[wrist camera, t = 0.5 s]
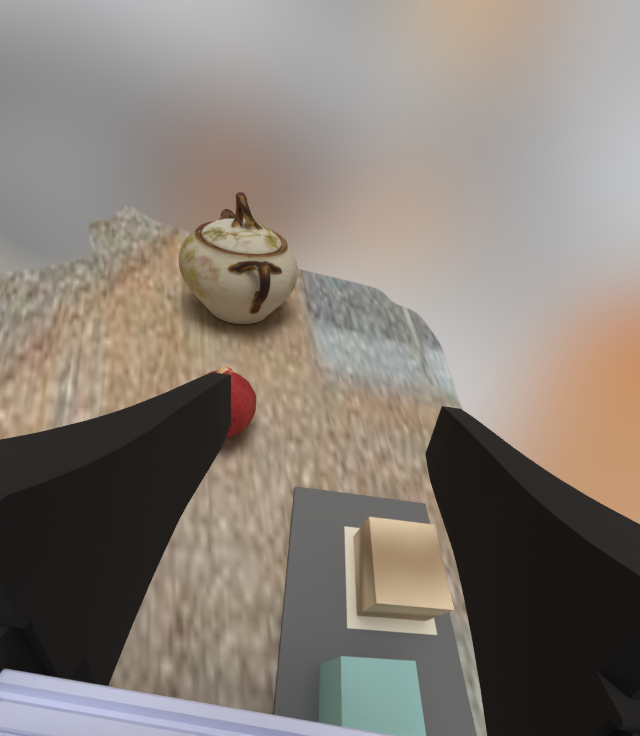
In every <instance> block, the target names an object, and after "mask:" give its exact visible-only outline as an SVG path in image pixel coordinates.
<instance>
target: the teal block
mask: <svg viewBox="0 0 640 736" xmlns="http://www.w3.org/2000/svg"><path fill="white" fill-rule="evenodd" d="M319 723H324V724H330V725H336V726H341V727H347V728H353V729H359V730H365V731H370V732H376V733H382V734H388V735H394V736H426V731H425V724H424V717H423V710H422V703H421V696H420V689H419V682H418V675H417V668H416V661H408V660H393V659H378V658H362V657H347V656H340V657H337V658H335V659H332V660H329V661H327V662H324V663H321V664H320V677H319Z"/></svg>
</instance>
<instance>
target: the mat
mask: <svg viewBox="0 0 640 736" xmlns="http://www.w3.org/2000/svg"><path fill="white" fill-rule="evenodd" d="M369 517H376V518H384V519H392V520H400V521H408V522H417V523H425V524H430V523H429V518H428V514H427V509H426V505H425V504H424V503H416V502H408V501H401V500H393V499H386V498H378V497H371V496H363V495H355V494H348V493H340V492H333V491H325V490H318V489H310V488H302V487H295V489H294V499H293V510H292V520H291V531H290V542H289V552H288V563H287V574H286V584H285V595H284V606H283V616H282V627H281V637H280V648H279V659H278V669H277V680H276V691H275V701H274V712H273V715H277V716H283V717H289V718H295V719H301V720H306V721H312V722H318V723H319V677H320V664H321V663H324V662H327V661H329V660H332V659H335V658H337V657H340V656H347V657H362V658H378V659H393V660H408V661H416V668H417V675H418V682H419V689H420V696H421V703H422V710H423V717H424V724H425V731H426V736H477V735H476V731H475V726H474V722H473V717H472V713H471V708H470V704H469V699H468V695H467V690H466V686H465V681H464V677H463V672H462V668H461V663H460V658H459V654H458V649H457V645H456V640H455V636H454V631H453V627H452V622H451V618H450V613H449V612H448V613H445V614H443V615H440V616H438V617H435V618H432V619H430V620H427V621H417V620H404V619H392V618H380V617H368V616H357V608H356V586H355V565H354V543H353V536H354V535H355V534H356V532H357V531H358V530H359V529H360V527H361V526H362V525H363V524H364V522H365V521H366V520H367V519H368V518H369Z"/></svg>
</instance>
